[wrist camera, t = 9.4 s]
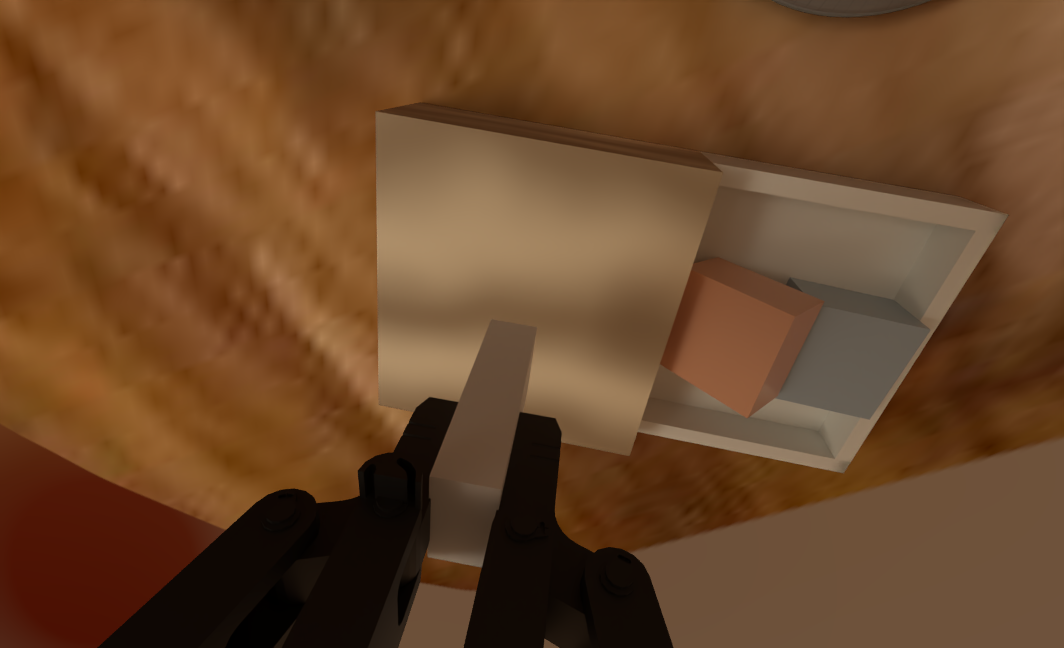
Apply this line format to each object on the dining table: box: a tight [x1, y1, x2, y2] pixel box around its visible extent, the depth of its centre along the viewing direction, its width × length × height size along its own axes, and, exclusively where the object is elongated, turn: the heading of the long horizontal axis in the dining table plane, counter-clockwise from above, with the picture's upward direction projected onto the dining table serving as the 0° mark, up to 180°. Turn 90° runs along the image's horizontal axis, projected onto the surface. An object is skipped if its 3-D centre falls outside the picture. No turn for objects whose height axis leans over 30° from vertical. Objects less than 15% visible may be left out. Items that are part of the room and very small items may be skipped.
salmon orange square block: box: [660, 257, 824, 418], centre depth 22 cm, size 5×5×3 cm
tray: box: [638, 151, 1008, 473], centre depth 24 cm, size 14×12×3 cm
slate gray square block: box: [776, 277, 930, 420], centre depth 23 cm, size 5×5×3 cm
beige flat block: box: [376, 103, 723, 456], centre depth 23 cm, size 14×13×5 cm
